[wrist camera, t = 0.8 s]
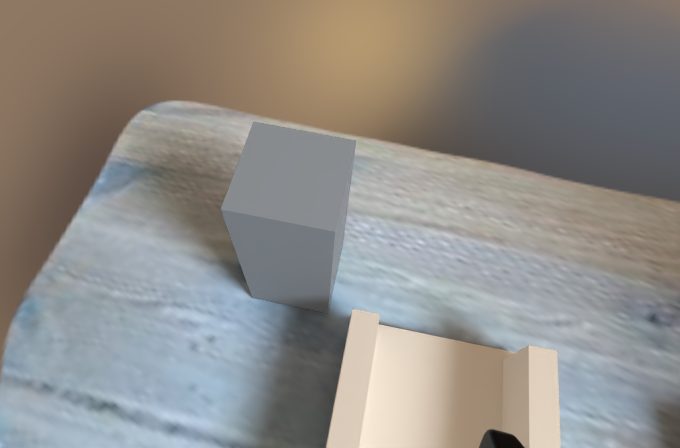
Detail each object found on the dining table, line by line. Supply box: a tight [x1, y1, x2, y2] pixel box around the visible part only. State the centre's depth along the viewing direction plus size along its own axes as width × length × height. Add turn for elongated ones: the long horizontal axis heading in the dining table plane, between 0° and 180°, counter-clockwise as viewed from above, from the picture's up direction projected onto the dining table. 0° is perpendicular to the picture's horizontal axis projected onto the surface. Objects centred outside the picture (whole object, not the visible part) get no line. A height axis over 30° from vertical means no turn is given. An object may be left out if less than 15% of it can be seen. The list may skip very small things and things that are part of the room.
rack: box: [325, 309, 561, 448], centre depth 19 cm, size 10×9×4 cm
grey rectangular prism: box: [221, 122, 356, 313], centre depth 20 cm, size 4×4×9 cm
